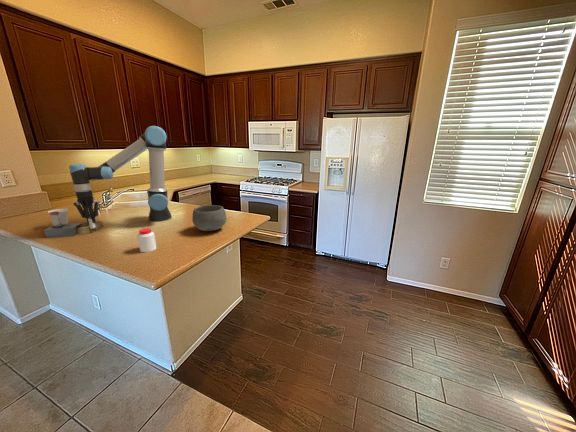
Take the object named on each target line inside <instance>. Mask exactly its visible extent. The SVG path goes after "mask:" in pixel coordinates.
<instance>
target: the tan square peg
mask: <svg viewBox="0 0 576 432" xmlns="http://www.w3.org/2000/svg"><path fill="white" fill-rule="evenodd" d="M76 231H77V235H81V234H83V235H84V234H91V233H92V232H93V231H92V229H91V228H90V225H89V226H87V227H77V228H76Z"/></svg>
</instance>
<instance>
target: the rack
mask: <svg viewBox="0 0 576 432" xmlns="http://www.w3.org/2000/svg"><path fill="white" fill-rule="evenodd" d="M81 223H82V224H83V225H81V227H87V226H89V223H87V221H83V222H81ZM95 226H96V227H95V228H93V229H92V232H94V231H95V232H97V231H99V230H100V229H102V228H103V227H104V225H103V221H102V220H96V222H95Z"/></svg>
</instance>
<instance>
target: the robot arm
mask: <svg viewBox="0 0 576 432" xmlns="http://www.w3.org/2000/svg"><path fill="white" fill-rule="evenodd" d="M167 138H168V137H167V133H166V132H165V130H164V129H163V128H162V127H160V126H158V125H157V126H156V125H150V126H148V127H147V128H146V129H145V131H144V133H143V134H141V135H139V137H138V139H136V141H135V142H133V143H132V144H130V145H128V146H126V148H124V149H122V150H121V151H119V152H118V153H116V154H115V155H114V156H112V157H111V158H109V159H107V160H106V161H105V162H103V163H101V164H100V165H99V166H95V167H94V166H91V167H90V166H89V167H88V166H86V164H84V163H73V164H69V165H68V169H69V175H70V177H71V181H72V184H73V188H74V191H75V195H76V198H77V200H76V202H73V203H72V204H73V206H75V207H76V209H77V211H78V212H79V215H80V216H81V218H83V219H86V222H87V223H89V225H90V228H91V229H93V228H95V227H96V226H95V222H96V221H97V220H96V217H98V215H99V205H100V201H99V200H95V198H94V195H93V191H92V186H91V182H90V181H95V180H96V181H97V180H98V181H99V180H100V181H101V180H106V181H107V180H111V179H113V178H114V173H115V172H117V171H118V170H119V169H120V168H122V167H123V166H125V165H126V164H128V163H130V162H131V161H132V160H134V159H135V158H137V157H138V156H140V155H142V154H143V153H144V152H146V151H147V150H148V166H149V188H148V189H147V190H146V193H147V205H148V207H149V212H148V220H149V221H150V222H163V221H168V220H170V219H172V213H171V212H170V211H171V210H169V207H168V205H169V199H168V197H169V196H168V189H167V188H166V187H165V186H166V185H165V156H164V155H165V151H166V150H167Z"/></svg>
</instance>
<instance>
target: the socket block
mask: <svg viewBox="0 0 576 432" xmlns="http://www.w3.org/2000/svg"><path fill="white" fill-rule="evenodd" d="M82 223H83V222H79V223H78V222H77V223H76V222H75V223H74V222H73V223H68V224H62V227H60V228H54V227H53V225H51V226H49V227H46V228H45V229H44V235H45V237H46V238H63V237H65V238H66V237H75V236H77V235H78V234H77V231H76V228H77V227H81V225H83V224H82Z"/></svg>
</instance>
